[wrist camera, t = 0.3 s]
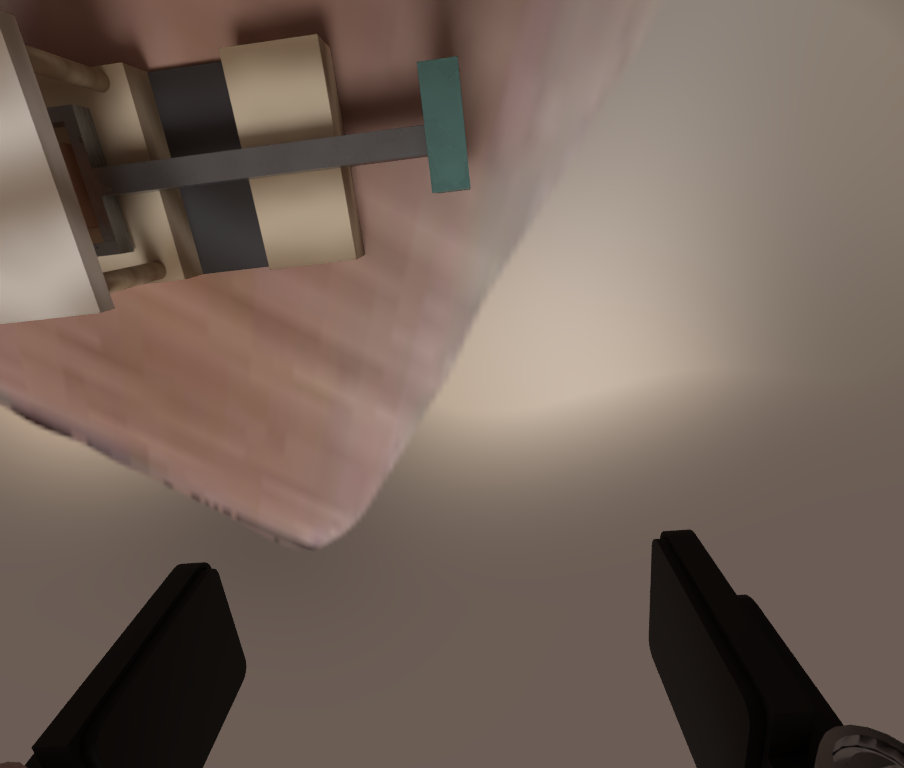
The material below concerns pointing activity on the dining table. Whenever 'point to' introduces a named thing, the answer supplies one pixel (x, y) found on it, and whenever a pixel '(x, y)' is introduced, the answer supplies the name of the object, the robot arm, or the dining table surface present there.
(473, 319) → the dining table surface
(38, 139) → the tunnel
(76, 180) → the block
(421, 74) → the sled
